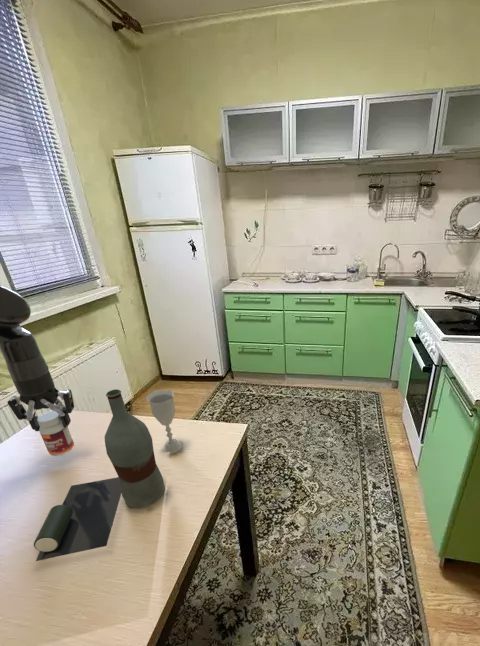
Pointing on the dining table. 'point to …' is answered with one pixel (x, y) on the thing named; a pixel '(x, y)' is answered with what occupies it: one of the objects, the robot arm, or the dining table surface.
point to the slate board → (88, 517)
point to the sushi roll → (53, 528)
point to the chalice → (164, 415)
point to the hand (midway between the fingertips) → (53, 427)
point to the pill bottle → (55, 434)
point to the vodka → (132, 455)
